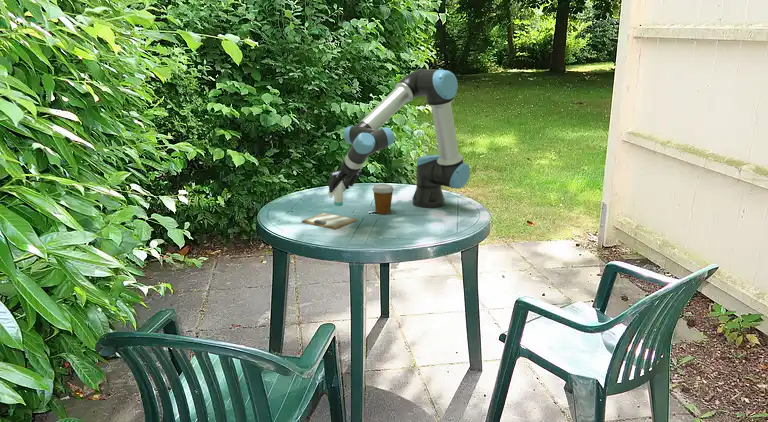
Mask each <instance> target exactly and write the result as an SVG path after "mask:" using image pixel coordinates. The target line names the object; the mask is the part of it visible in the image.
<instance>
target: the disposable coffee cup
mask: <svg viewBox="0 0 768 422" xmlns="http://www.w3.org/2000/svg"><path fill="white" fill-rule="evenodd" d="M393 187H394V186H393V185H392V184H386V183H383V184H381V183H378V184H375V185H373V188H372V192H373V197H374V198H373V199H374V207H375V213H377V214H378V215H388V214H390V213H391V207H392V200H393V194H394V193H393V192H394V190H395V189H394V188H393Z"/></svg>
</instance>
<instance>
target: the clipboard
mask: <svg viewBox="0 0 768 422" xmlns="http://www.w3.org/2000/svg"><path fill="white" fill-rule="evenodd" d="M357 221H358V219H357V218H354V217H348V216H343V215H338V214H332V213H326V212H322V213H320V214H316V215H314V216H311V217H308V218H305V219H303V220H301V223H302V224H307V225H312V226H317V227H322V228H326V229H331V230H338V229H341V228H342V227H344V226H348V225H350V224H352V223H355V222H357Z"/></svg>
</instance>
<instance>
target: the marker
mask: <svg viewBox="0 0 768 422" xmlns="http://www.w3.org/2000/svg"><path fill="white" fill-rule="evenodd" d="M343 183H344V180H343V181H341V182H340V184H339V185H338V186H337V187H336V189H337V190H336V191H335V193H334V195H333V206H335V207H341V206H343V205H344V204H343V203H344V200H343V199H344V197H343V195H344V194H343V193H344V192H343Z"/></svg>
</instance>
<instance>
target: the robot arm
mask: <svg viewBox="0 0 768 422" xmlns="http://www.w3.org/2000/svg"><path fill="white" fill-rule="evenodd" d="M458 86H459V83H458V79H457V77H456V75H455V74H454V73H453V72H452V71H450V70H445V69H433V68H429V69H428V68H427V69H426V68H420V69H415V70H413V71H412V72H410V73H408V74H407V75H405V76H404V77H402V78H401V79H400V80H399V81H398V82H396V84H395V85H394V89H393V90H392V91H391V92H390V93H388V95H387V96H385V97H384V98H383V99H382V100H381V101H380V102H379V103H378V104H377V105H376V106H375V107H374V108H373V109H372V110H370V112H369V113H368V114H366V115H365V116H364V118H362V119H361V120H360V121H359V122H358V123H357V124H356V125H350V126H347V127H346V128H345V129H344V131H343V138H344V141H345V143H347V144H349V145H350V146H351V147H350V148H349V150H348V152H347V153H346V155H345V157H344V159H343V160H342V162H341V164H340V168H339V169H338V170H337V171H334V170H332V171H331V176H330V177H329V180H328V182H327V187H328V192H327V194H328V196H329V198H330V199H331V198H333V197H334V193H335V191H336V190H337V189H336V187H337V186H338V185H339V184H340V182H341V181H343V193H344V192H345V191H346V190H349V189H350V187H353V186H354V184H355V183H356V182H357V180H358V178H359V177H360V176H362V174H363V172H362V169H361V168H362V167H363V165H364V164H365V162H366V161H367V158H368V157H369V156H371V155H372V154H375V153H377V152H379V151H381V150H384V149H387V148H389V147H390V146H392V145H393V144H394V142H395V134H394V132H393V130H392V129H391V128H390V127H387V126H386V127H382V126H384V124H385V123H387V122H388V121H389V120H390V119H391V118H392V117H393V116H394V115H395V114H396V113H397V112H398V111H399V110H400V109H401V108H403V106H404V105H405V104H407V103H409V102H412V101H413V100H414V99H415V98H418V97H423V98H424V97H425V100H426V104H427V105H428V106H429V107H430V108H431V113H432V114H431V115H432V120H433V125H434V126H433V127H434V132H435V136H436V137H435V138H436V144H437V147H438V148H437V149H438V154H428V155H422V156H418V158H417V160H416V186H415V191H414V193H413V197H412V205H414V206H416V207H419V208H428V209H429V208H430V209H431V208H433V209H434V208H440V207H444V205H445V196H444V193H443V190H442V187H443V186H444V187H448V188H451V189H461V188H463V187H465V186H466V184H467V183H468V181H469V179H470V177H471V168H470V165H469V164H468V163H466V162H464V158H463V157H464V156H463V155H461V154H460V153H459V147H458V146H459V145H458V140H457V133H456V127H455V119H454V114H453V113H454V112H453V108H452V103H453V102H454V100H455V96H457V93H458V91H457V90H458V89H459V87H458Z"/></svg>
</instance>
